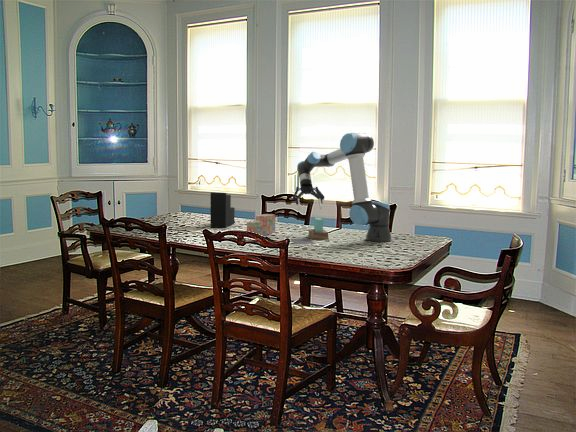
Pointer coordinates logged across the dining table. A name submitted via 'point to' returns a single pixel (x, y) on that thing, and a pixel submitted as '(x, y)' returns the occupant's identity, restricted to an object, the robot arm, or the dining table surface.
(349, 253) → the dining table surface
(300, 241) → the mat
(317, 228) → the tile
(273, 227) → the stack of blocks
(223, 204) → the bookend
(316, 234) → the brown hollow block
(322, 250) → the dining table surface
